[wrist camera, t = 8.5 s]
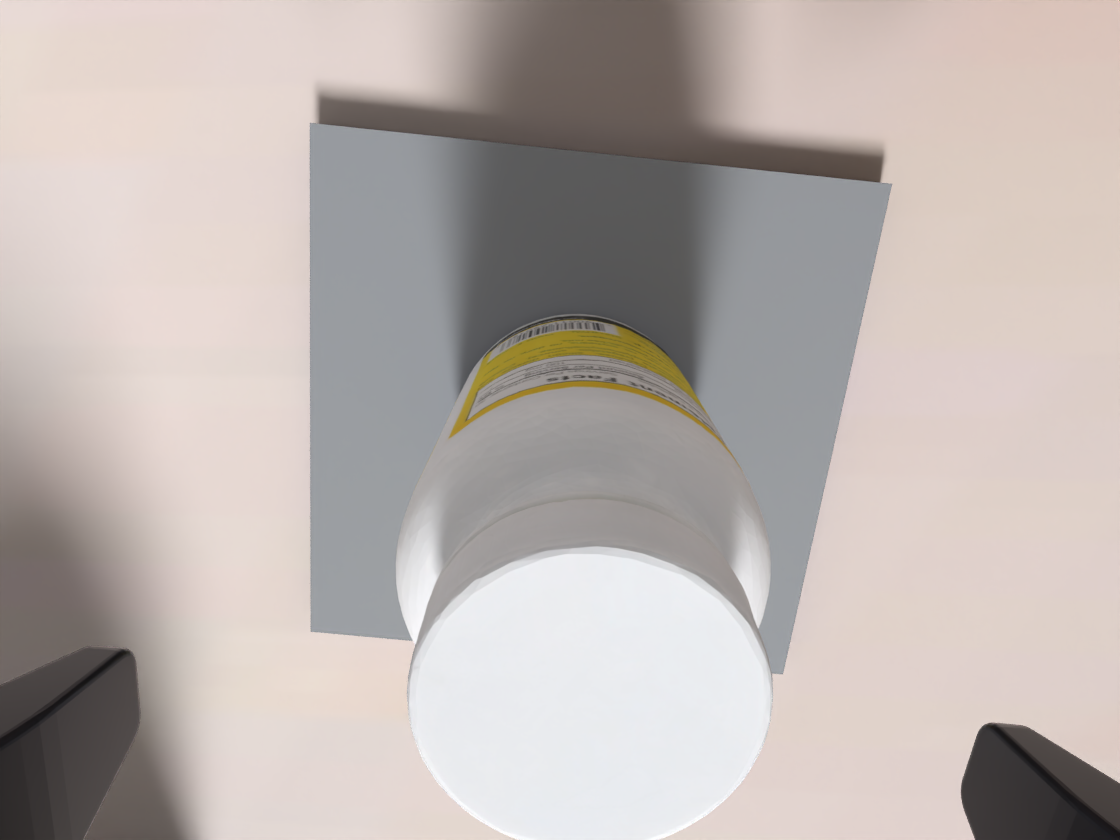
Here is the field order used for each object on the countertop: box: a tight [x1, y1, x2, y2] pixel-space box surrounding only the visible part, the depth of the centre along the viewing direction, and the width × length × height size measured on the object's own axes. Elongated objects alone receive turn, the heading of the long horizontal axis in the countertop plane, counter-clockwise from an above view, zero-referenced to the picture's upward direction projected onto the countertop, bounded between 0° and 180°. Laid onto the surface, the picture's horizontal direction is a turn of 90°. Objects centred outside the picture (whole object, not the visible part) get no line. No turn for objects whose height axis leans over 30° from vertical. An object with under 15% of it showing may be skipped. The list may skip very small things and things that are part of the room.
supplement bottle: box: [396, 314, 773, 840], centre depth 13 cm, size 5×5×10 cm
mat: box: [310, 123, 892, 674], centre depth 18 cm, size 12×12×1 cm
